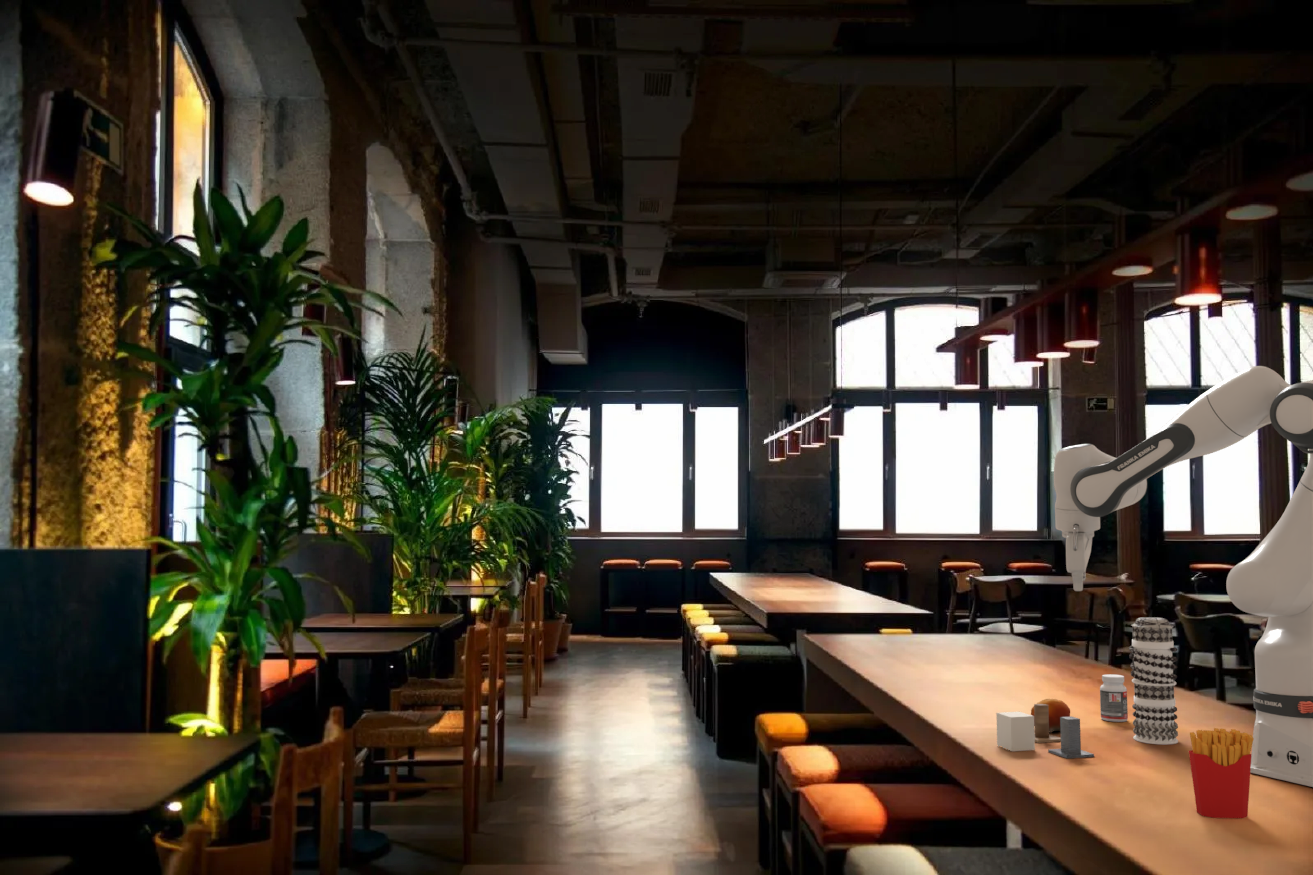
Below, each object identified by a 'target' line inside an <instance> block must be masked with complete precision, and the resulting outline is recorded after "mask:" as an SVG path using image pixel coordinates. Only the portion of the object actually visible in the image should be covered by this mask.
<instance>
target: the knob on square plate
mask: <svg viewBox="0 0 1313 875" xmlns="http://www.w3.org/2000/svg"><path fill="white" fill-rule="evenodd" d="M1033 706H1034V719H1035V726H1034V733H1035V743H1037V744H1040V743H1041V744H1042V743H1056V742H1060V743H1061V736H1060V737H1059V736H1056V735H1053V734H1051V733H1050V732H1049V711H1048V705H1046V704H1037V703H1034V704H1033Z"/></svg>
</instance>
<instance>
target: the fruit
mask: <svg viewBox="0 0 1313 875" xmlns="http://www.w3.org/2000/svg"><path fill="white" fill-rule="evenodd" d="M1036 704H1046V705H1048V711H1049V733H1050V735H1053V732H1056V731H1058V732H1061V730H1060V717H1070V716H1071V708H1070V707H1069V705H1067V704H1066V703H1065V702H1064V701H1062V700H1059V699H1057V698H1045V699H1042V700H1041V701H1039V702H1037V703H1036ZM1030 715H1032V716H1034V705H1033V706H1032V707H1031V709H1030ZM1034 727H1035V719H1034Z"/></svg>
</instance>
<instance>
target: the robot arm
mask: <svg viewBox="0 0 1313 875" xmlns="http://www.w3.org/2000/svg"><path fill="white" fill-rule="evenodd" d="M1270 424H1271V425H1272V427H1273V428H1274V430H1275V431H1277V433H1278V434H1279V435H1280V436H1282V437H1283V438H1284V439H1286V440H1287V441H1289V442H1290V443H1291V444H1293V445H1294V446H1295V447H1297V449H1299V450H1300V451H1302V452H1303V453H1305V454H1309V460H1308V463H1307V466H1306V468H1305V470H1304V472H1303V474H1302V476H1301V478H1300V480H1299V482H1298V484H1297V487H1296V488H1295V490H1294V492H1293V494H1292V496H1291V498H1290V500H1289V502H1288V504H1287V506H1286V507H1285V509H1284V512H1283V513H1282V515H1281V517H1279V520H1278V521H1276V522H1277V523H1276V524H1275V525H1274V526H1273V527H1272V529H1270V531H1269V532H1268V533H1267V535H1266V536H1265V537H1264V538H1263V539H1262V541H1261V542H1260V543H1259V544H1258V545H1257V546H1256V547H1255V549H1254V550H1253V551H1252V552H1251V553H1250V554H1249V555H1248V556H1247V557H1245V559H1243V560H1242V561H1240V562H1238V563H1237V564H1236V565H1234V566H1233V567H1232V568H1231V569H1230V571H1229V572H1228V574H1227V577H1226V583H1225V584H1226V585H1225V586H1226V592H1227V595H1228V598H1229V599H1230V601H1231V603H1232V604H1233V605H1234V606H1235V607H1236V608H1237V609H1239V610H1240V611H1242V612H1243V613H1244V612H1245V613H1247V614H1251V615H1254V616H1257V617H1258V616H1260V617H1264V618H1267V622H1266V627H1265V629H1264V631H1263V634H1262V635H1261V637H1260V639H1258V641H1257V643H1256V645H1255V647H1254V668H1255V669H1254V670H1255V688H1254V689H1253V696H1252V700H1253V708H1254V709H1255V712H1256V713H1255V720H1254V724H1253V731H1252V737H1253V738H1254V739H1253V743H1252V747H1251V752H1250V754H1252V755H1251V770H1250V774H1255V775H1260V776H1264V777H1268V778H1272V779H1277V780H1281V781H1286V782H1290V783H1294V784H1298V785H1302V786H1307V787H1312V788H1313V379H1312V380H1311V379H1310V380H1307V381H1306V380H1305V381H1300V382H1297V383H1294V384H1289V383H1288V382H1286V381H1285V380H1284V378H1283V377H1282V376H1281V375H1280V374H1279V373H1277V372H1276V371H1275V370H1274V369H1271V368H1269V367H1268V366H1264V365H1255V366H1250V367H1249V368H1246V369H1243V370H1242V371H1239V372H1237V373H1234V374H1232V375H1231V376H1229V377H1227V378H1225V379H1224V380H1222V381H1220V382H1218V383H1216V384H1215V385H1213V386H1212V387H1211V388H1209V389H1208V390H1206V391H1205V392H1203V393H1202V394H1200V395H1199V396H1197V397H1196V398H1194V399H1193V400H1192V401H1191V402H1190V403H1189V404H1187V405H1186V406H1185V407H1184V408H1183V409H1182V410H1181V411H1179V413H1177V414H1176V415H1175V416H1173V417H1172V419H1170V420H1169V421H1168V422H1167V423H1165V424H1164V425H1163V426H1162V427H1161V428H1160V429H1158V430H1156V432H1155V433H1153V434H1152V435H1151V436H1149V437H1147V438H1146V439H1145V440H1143V441H1141V442H1139V443H1138V444H1137V445H1135V446H1134V447H1132V448H1131V449H1129V450H1127V451H1126V452H1124V453H1123V454H1121V455H1119V456H1118V457H1114V456H1113V455H1110V454H1107V453H1106V452H1103V451H1101V450H1100V449H1099V448H1097V446H1095V445H1094V444H1092V443H1081V444H1075V445H1069V446H1067V447H1063V448H1061V449H1059V450H1058V451H1057V452H1056V454H1055V457H1054V463H1053V464H1054V466H1053V488H1054V490H1055V495H1056V496H1055V497H1056V500H1055V503H1054V517H1055V518H1054V519H1055V520H1054V521H1055V529H1056V530H1057V531H1061V536H1062V538H1064V539H1065V565H1066V566H1065V567H1066V568H1065V569H1066V571H1067V573H1070V574H1071V578H1072V584H1073V585H1072V586H1073V590H1074V591H1075V592H1082V591H1083V590H1084V582H1085V581H1086V579H1087V577H1086V576H1087V574H1086V572H1087V567H1088V563H1089V559H1090V556H1091V553H1092V546H1093V538H1094V537H1095V532H1096V531H1098V530H1100V529H1101V518H1102V517H1105V516H1107V515H1109V514H1112V513H1113V512H1115V511H1118V510H1121V509H1124V508H1126V507H1129V506H1132V505H1135V504H1136V503H1138V502H1139V501H1141V500H1142V499H1144V496H1145V495H1146V493H1147V491H1148V479H1149V478H1150V477H1152V476H1153V475H1155V474H1156V473H1158V472H1160V471H1162V470H1163V469H1165V468H1167V467H1169V466H1171V465H1174V464H1177V463H1179V462H1183V461H1186V460H1190V459H1194V458H1198V457H1202V456H1206V455H1210V454H1213V453H1215V452H1219V451H1221V450H1223V449H1224V450H1225V449H1226V448H1229V447H1231V446H1233V445H1235V444H1236V443H1238V442H1240V441H1242V440H1244V439H1246V438H1247V437H1249V436H1250V435H1252V434H1253V433H1255V432H1256V431H1258V430H1259V429H1261V428H1263V427H1265V426H1267V425H1270Z"/></svg>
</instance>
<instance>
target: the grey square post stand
mask: <svg viewBox="0 0 1313 875" xmlns="http://www.w3.org/2000/svg"><path fill="white" fill-rule="evenodd" d="M1060 730H1061V731H1060V738H1061V741H1060V748H1052V749H1051V748H1050V749H1049V748H1048V749H1047V751H1048V752H1047V753H1050V754H1053V755H1055V756H1058V757H1061V758H1064V759H1066V760H1067V759H1079V758H1081V759H1082V758H1093V757H1095V754H1094V753H1092V752H1089V751H1087V750H1082V749H1081V748H1082V747H1081V746H1082V744H1081V742H1082V741H1081V739H1082V738H1081V718H1078V717H1076V716H1071V715H1070V717H1060Z"/></svg>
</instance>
